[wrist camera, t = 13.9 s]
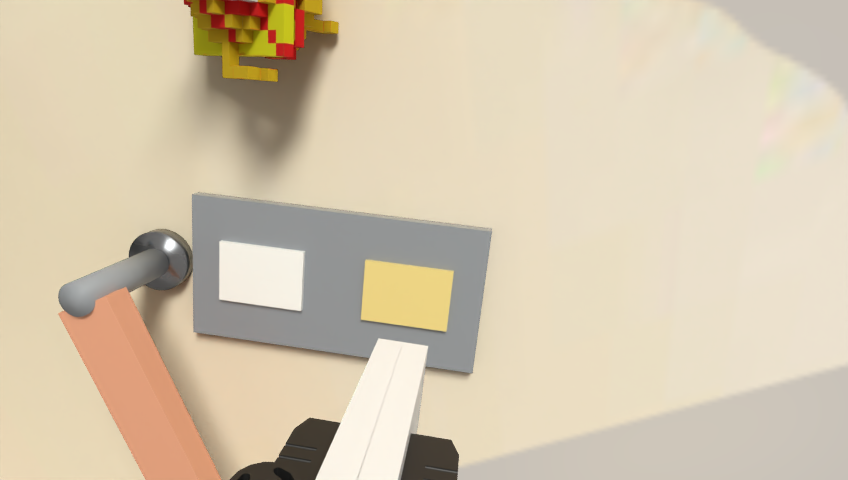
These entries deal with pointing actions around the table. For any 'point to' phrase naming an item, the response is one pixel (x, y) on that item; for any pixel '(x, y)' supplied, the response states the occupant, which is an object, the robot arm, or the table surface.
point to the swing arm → (134, 369)
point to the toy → (254, 31)
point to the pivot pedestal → (174, 251)
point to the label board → (337, 278)
